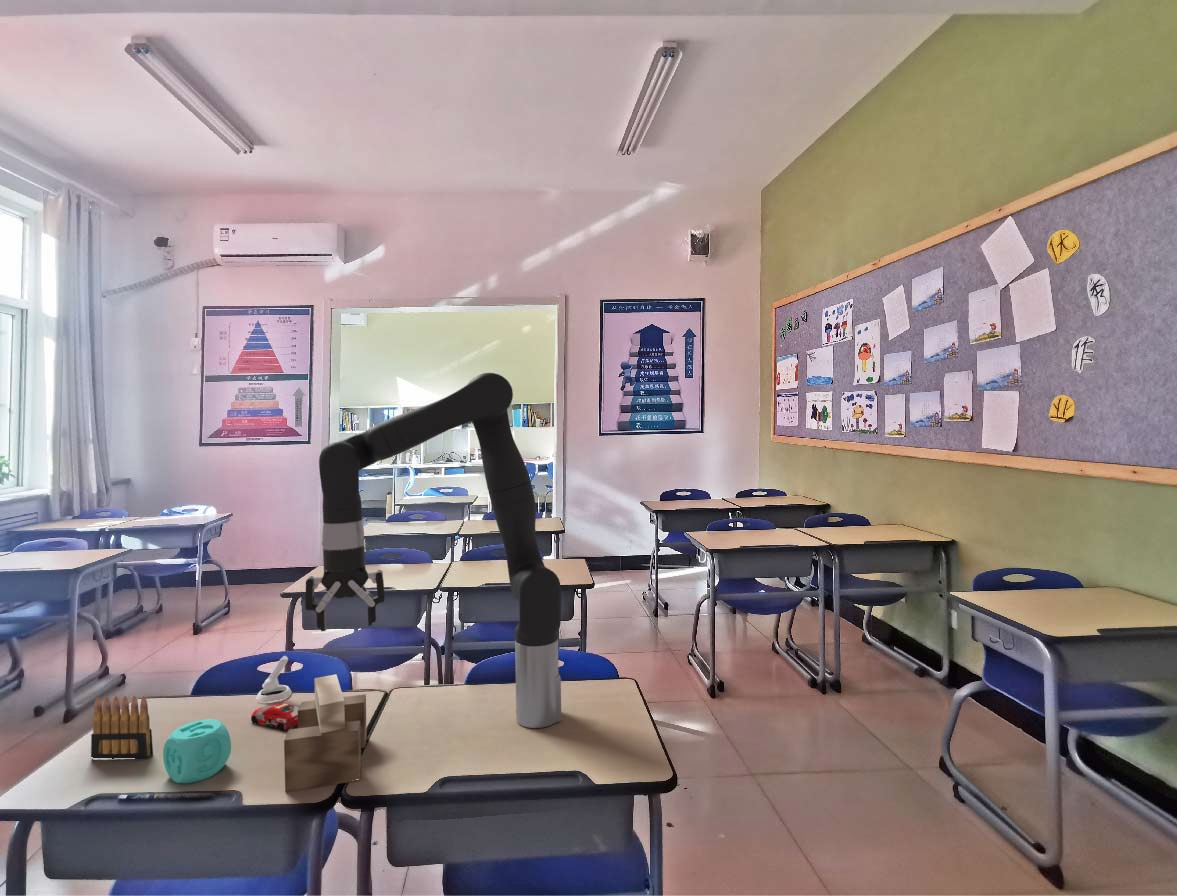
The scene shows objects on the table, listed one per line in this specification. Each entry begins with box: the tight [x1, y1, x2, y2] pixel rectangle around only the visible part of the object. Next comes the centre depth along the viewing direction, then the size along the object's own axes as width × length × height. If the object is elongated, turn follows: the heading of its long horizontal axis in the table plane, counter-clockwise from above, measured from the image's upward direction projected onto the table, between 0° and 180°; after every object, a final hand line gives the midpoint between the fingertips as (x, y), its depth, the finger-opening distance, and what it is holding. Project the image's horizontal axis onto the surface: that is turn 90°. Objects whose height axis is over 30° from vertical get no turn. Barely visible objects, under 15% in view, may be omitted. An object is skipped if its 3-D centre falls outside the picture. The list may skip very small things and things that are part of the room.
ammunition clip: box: [90, 695, 154, 760], centre depth 117 cm, size 11×2×12 cm, turn 91°
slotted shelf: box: [283, 694, 368, 793], centre depth 114 cm, size 12×16×9 cm
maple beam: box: [313, 673, 345, 733], centre depth 114 cm, size 4×14×5 cm, turn 28°
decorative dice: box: [162, 718, 232, 784], centre depth 112 cm, size 8×8×8 cm
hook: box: [255, 655, 293, 702], centre depth 144 cm, size 8×12×7 cm
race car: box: [250, 702, 299, 731], centre depth 131 cm, size 13×5×4 cm, turn 65°
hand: (347, 627), depth 118 cm, fingers open, 8 cm apart
